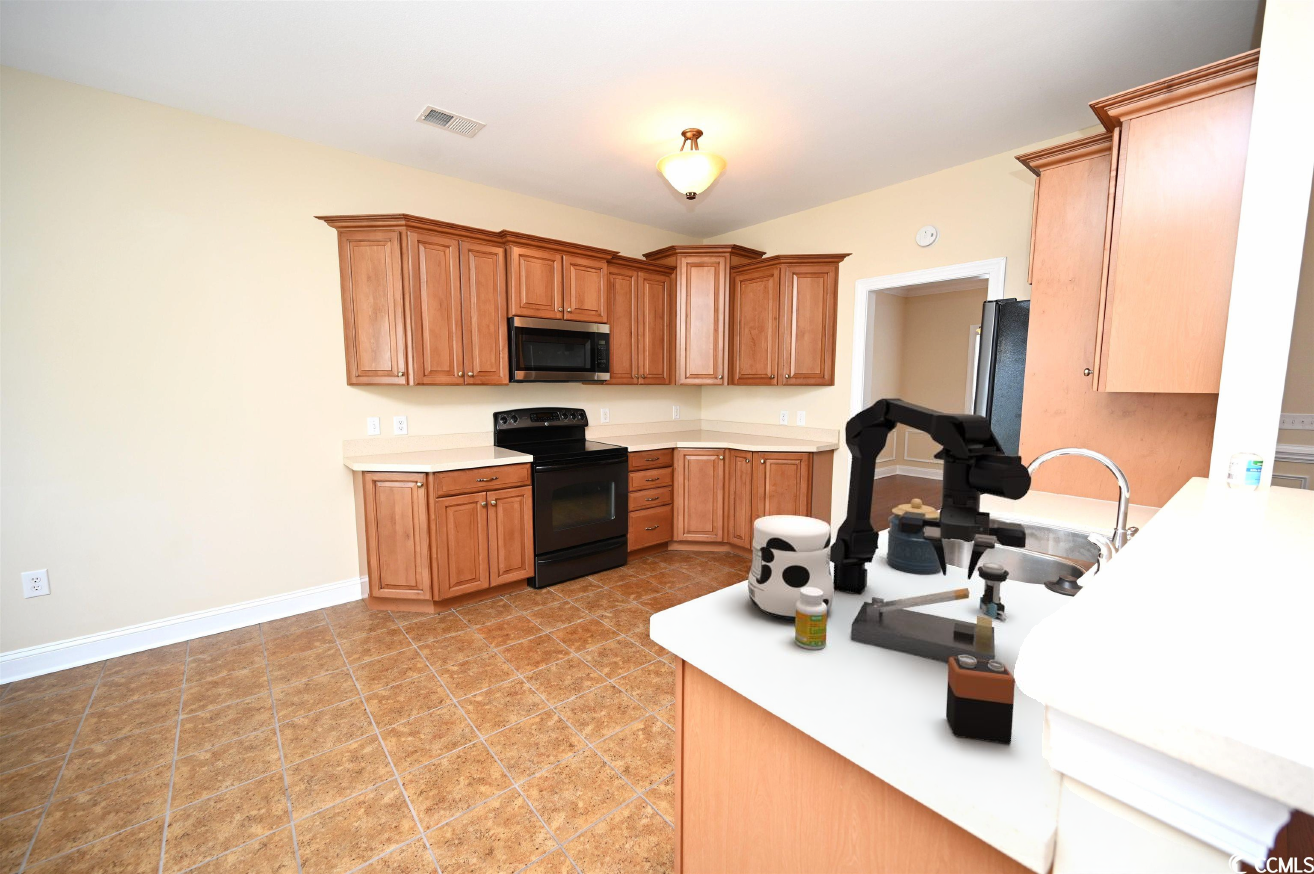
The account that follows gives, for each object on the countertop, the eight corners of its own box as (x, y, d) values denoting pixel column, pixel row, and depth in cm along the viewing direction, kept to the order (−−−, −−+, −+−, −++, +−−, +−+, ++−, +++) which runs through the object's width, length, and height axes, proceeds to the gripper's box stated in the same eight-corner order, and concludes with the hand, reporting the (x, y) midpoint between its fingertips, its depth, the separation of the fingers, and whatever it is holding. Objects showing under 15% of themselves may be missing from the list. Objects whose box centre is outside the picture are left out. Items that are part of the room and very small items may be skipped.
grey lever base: (851, 640, 97) (852, 608, 96) (864, 615, 107) (865, 587, 107) (993, 673, 85) (995, 637, 85) (993, 643, 96) (995, 610, 95)
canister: (886, 555, 145) (888, 492, 143) (940, 561, 140) (943, 495, 138) (886, 570, 133) (888, 501, 132) (945, 578, 128) (948, 506, 126)
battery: (945, 717, 74) (948, 649, 73) (1000, 725, 72) (1004, 655, 71) (953, 737, 70) (957, 664, 69) (1012, 746, 68) (1016, 671, 67)
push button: (1017, 621, 104) (1020, 572, 103) (990, 622, 104) (992, 572, 103) (995, 607, 111) (997, 561, 110) (969, 608, 111) (972, 561, 110)
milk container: (847, 606, 112) (849, 522, 110) (809, 635, 99) (811, 540, 97) (773, 586, 123) (775, 510, 122) (731, 609, 110) (732, 524, 109)
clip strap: (871, 614, 99) (869, 608, 99) (874, 608, 102) (872, 602, 102) (969, 599, 90) (966, 592, 90) (969, 593, 93) (967, 586, 93)
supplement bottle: (809, 653, 92) (811, 599, 91) (788, 640, 97) (789, 588, 96) (832, 646, 95) (834, 593, 94) (811, 633, 99) (812, 583, 99)
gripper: (895, 490, 89) (891, 581, 90) (1030, 503, 79) (1024, 604, 81) (903, 480, 98) (900, 562, 100) (1026, 490, 89) (1020, 581, 90)
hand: (956, 576), depth 92 cm, fingers open, 3 cm apart
